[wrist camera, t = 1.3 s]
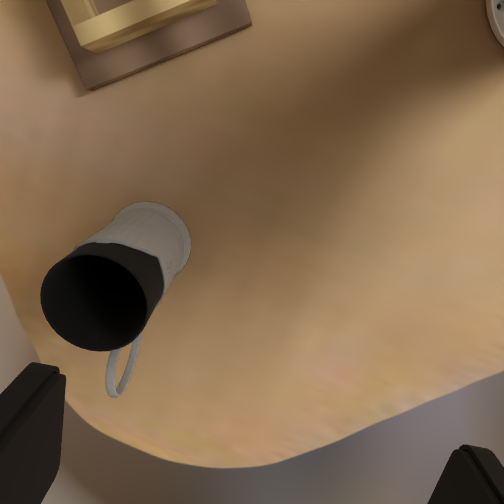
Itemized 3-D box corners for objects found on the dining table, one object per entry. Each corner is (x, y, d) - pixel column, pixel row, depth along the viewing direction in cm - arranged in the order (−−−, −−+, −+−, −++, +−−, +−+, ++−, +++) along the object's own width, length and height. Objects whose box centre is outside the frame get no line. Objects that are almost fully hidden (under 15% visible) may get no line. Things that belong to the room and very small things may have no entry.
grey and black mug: (190, 203, 40) (155, 246, 26) (192, 327, 45) (163, 422, 30) (104, 200, 40) (22, 241, 26) (115, 324, 45) (49, 418, 30)
